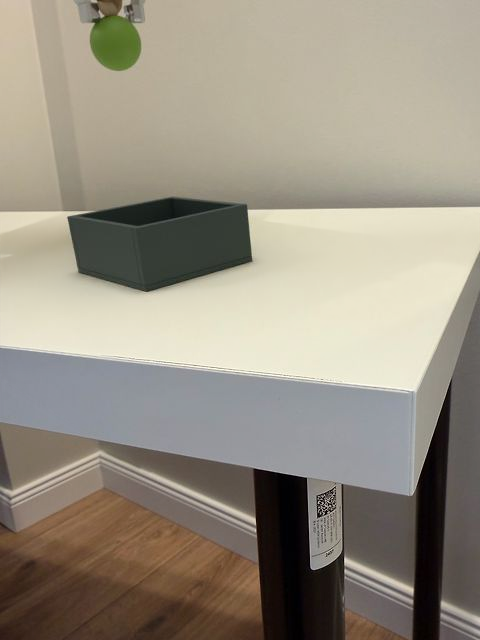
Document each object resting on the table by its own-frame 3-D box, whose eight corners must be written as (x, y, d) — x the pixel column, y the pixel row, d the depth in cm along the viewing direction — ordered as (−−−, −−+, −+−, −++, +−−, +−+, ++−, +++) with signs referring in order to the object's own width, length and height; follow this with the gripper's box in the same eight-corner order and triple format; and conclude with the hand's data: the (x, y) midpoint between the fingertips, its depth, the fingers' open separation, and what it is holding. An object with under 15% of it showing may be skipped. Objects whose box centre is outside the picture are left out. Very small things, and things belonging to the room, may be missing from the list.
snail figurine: (155, 68, 75) (137, -56, 70) (133, 68, 69) (111, -67, 64) (112, 72, 76) (90, -50, 71) (86, 73, 71) (61, -59, 65)
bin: (78, 272, 65) (66, 216, 63) (179, 247, 73) (172, 196, 71) (146, 291, 57) (135, 228, 55) (252, 260, 65) (247, 204, 62)
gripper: (158, -112, 74) (174, 27, 79) (-25, -143, 61) (11, 25, 67) (192, -127, 70) (207, 21, 75) (3, -164, 57) (38, 18, 63)
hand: (113, 23), depth 71 cm, fingers closed on snail figurine, 4 cm apart
